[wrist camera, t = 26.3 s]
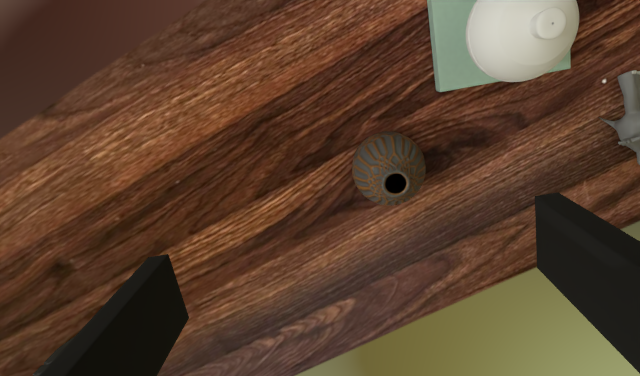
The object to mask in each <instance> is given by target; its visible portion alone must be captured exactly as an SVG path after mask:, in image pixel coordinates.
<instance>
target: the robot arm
mask: <svg viewBox="0 0 640 376" xmlns="http://www.w3.org/2000/svg"><path fill="white" fill-rule="evenodd" d="M535 213H536V245H537V268H538V269H539V270H540V271H541V272H542V273H543V274H544V275H545V276H546V277H547V278H548V279H549V280H550V281H551V282H552V283H553V284H554V285H555V287H557V289H558V290H559V291H560V292H561V293H562V294H563V295H564V296H565V297H566V298H567V299H568V300H569V301H570V302H571V303H572V304H573V305H574V306H575V307H576V308H577V309H578V310H579V311H580V312H581V313H582V314H583V315H584V316H585V317H586V318H587V319H588V321H589V322H591V323H592V324H593V326H594V327H595V328H596V329H597V330H598V331H599V332H600V333H601V334H602V335H603V336H604V337H605V338H606V339H607V340H608V341H609V342H610V343H611V344H612V345H613V346H614V347H615V348H616V349H617V350H618V351H619V352H620V353H621V354H622V355H623V356H624V358H625V359H626V360H627V361H628V362H629V363H630V364H631V365H632V366H633V367H634V368H635V369H636V370H637V371H638V372H639V373H640V241H638V240H636V239H635V238H633V237H631V236H630V235H628V234H626V233H625V232H623V231H621V230H620V229H618V228H616V227H615V226H613V225H611V224H610V223H608V222H606V221H605V220H603V219H601V218H600V217H598V216H596V215H595V214H593V213H591V212H590V211H588V210H586V209H585V208H583V207H581V206H580V205H578V204H576V203H575V202H573V201H571V200H570V199H568V198H566V197H565V196H563V195H561V194H560V193H553V194H546V195H540V196H535ZM188 319H189V316H188V313H187V310H186V307H185V304H184V301H183V298H182V295H181V292H180V289H179V286H178V283H177V280H176V276H175V273H174V270H173V267H172V264H171V261H170V258H169V255H168V254H167V255H160V256H154V257H148V259H147V260H146V261H145V262H144V263H143V264H142V265H141V266H140V267H139V268H138V269H137V270H136V271H135V273H134V274H133V275H132V276H131V277H130V278H129V279H128V280H127V281H126V282H125V283H124V284H123V285H122V287H121V288H120V289H119V290H118V291H117V292H116V293H115V294H114V295H113V296H112V297H111V298H110V299H109V301H108V302H107V303H106V304H105V305H104V306H103V307H102V308H101V309H100V310H99V311H98V312H97V313H96V315H95V316H94V317H93V318H92V319H91V320H90V321H89V322H88V323H87V324H86V325H85V326H84V327H83V329H82V330H81V331H80V332H79V333H78V334H77V335H76V336H75V337H73V338H72V339H70V340H69V341H68V342H66V343H65V344H64V345H62V346H61V347H59V348H58V349H57V350H56V351H55V352H54V353H53V354H52V355H51V356H50V357H49V358H48V359H47V360H46V361H45V362H44V365H42V366H40V368H39V369H38V370H37V371H36V372H35V373H34V374H33V376H157V374H158V372H159V371H160V369H161V367H162V365H163V363H164V362H165V360H166V358H167V356H168V354H169V353H170V351H171V349H172V347H173V345H174V344H175V342H176V340H177V338H178V336H179V335H180V333H181V331H182V329H183V328H184V326H185V324H186V322H187V320H188Z"/></svg>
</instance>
